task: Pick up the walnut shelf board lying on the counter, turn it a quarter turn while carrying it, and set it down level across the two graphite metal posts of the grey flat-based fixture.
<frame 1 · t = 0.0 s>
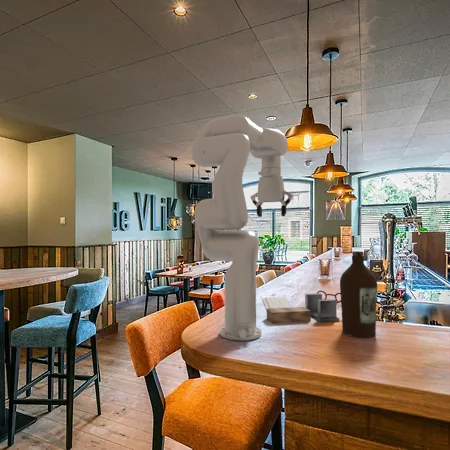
hand: (271, 216, 129), 37 cm above the counter, tool pointing down, fingers open, 9 cm apart
grey flat-based fixture: (320, 315, 119), on the counter
olive oil: (358, 333, 99), on the counter
glasses: (325, 305, 139), on the counter
baseboard molding: (276, 309, 134), on the counter
shelf board: (288, 321, 114), on the counter
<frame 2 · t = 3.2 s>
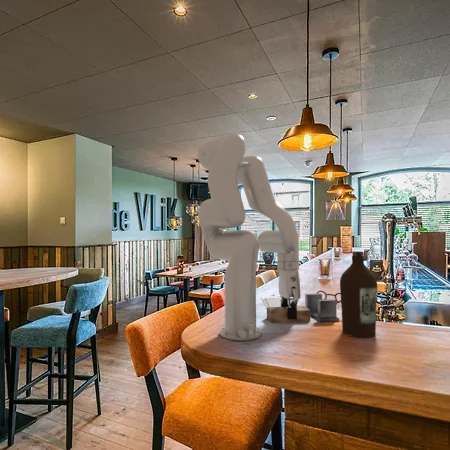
hand: (288, 316, 114), 1 cm above the counter, tool pointing down, fingers closed on shelf board, 6 cm apart
shelf board: (288, 320, 114), on the counter, touching gripper
everything else where it was.
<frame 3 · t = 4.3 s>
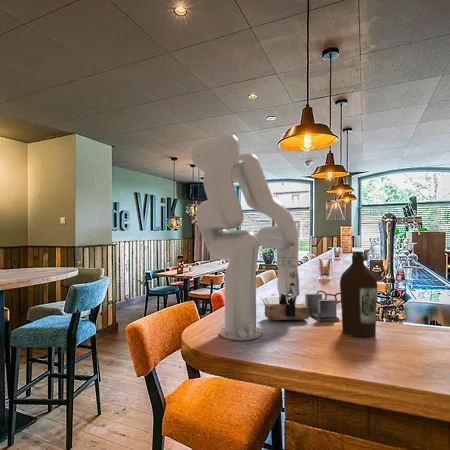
hand: (286, 313, 114), 2 cm above the counter, tool pointing down, fingers closed on shelf board, 6 cm apart
shelf board: (286, 317, 114), point 1 cm above the counter, touching gripper
everything else where it was.
when the fingers open (10 cm above the counter, at t = 9.1 s): shelf board drops 1 cm, resting on grey flat-based fixture.
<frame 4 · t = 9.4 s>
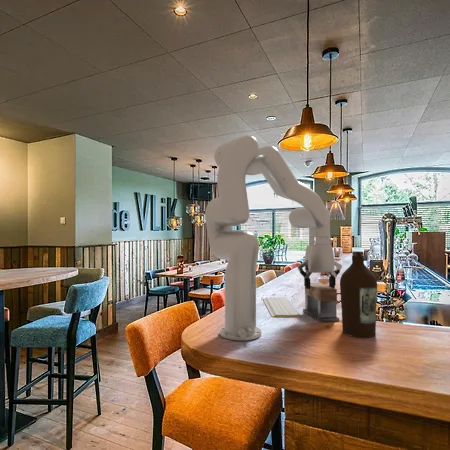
hand: (319, 288, 120), 10 cm above the counter, tool pointing down, fingers open, 9 cm apart
shelf board: (320, 297, 119), point 7 cm above the counter, touching grey flat-based fixture
everything else where it was.
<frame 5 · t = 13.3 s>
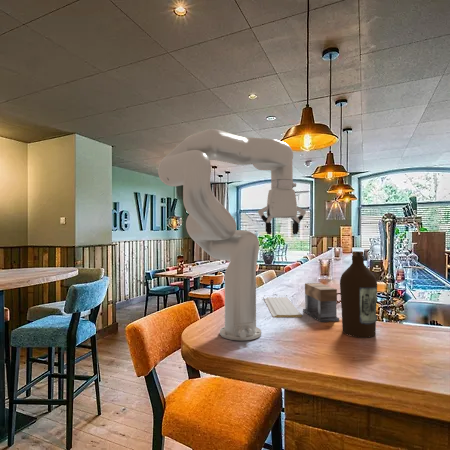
hand: (282, 234, 115), 30 cm above the counter, tool pointing down, fingers open, 9 cm apart
at the end: shelf board 0.2 cm off-centre on the grey flat-based fixture, point 7.0 cm above the grey flat-based fixture's base; shelf board tilted 0°; the gripper is holding nothing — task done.
